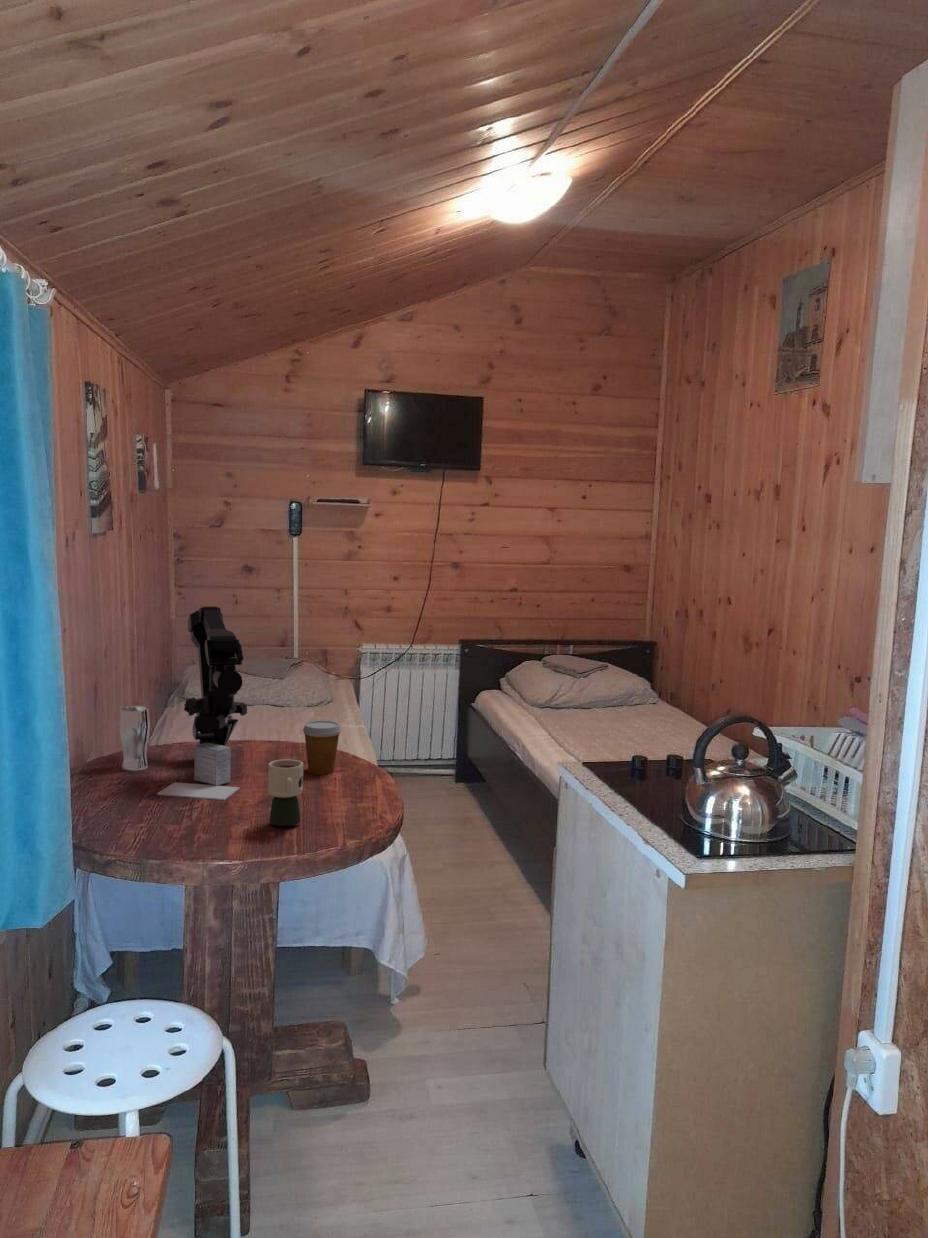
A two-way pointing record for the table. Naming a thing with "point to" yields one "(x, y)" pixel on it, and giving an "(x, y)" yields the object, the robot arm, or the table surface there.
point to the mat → (198, 791)
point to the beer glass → (134, 736)
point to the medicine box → (212, 763)
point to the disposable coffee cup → (321, 745)
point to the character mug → (285, 791)
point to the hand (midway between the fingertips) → (221, 750)
